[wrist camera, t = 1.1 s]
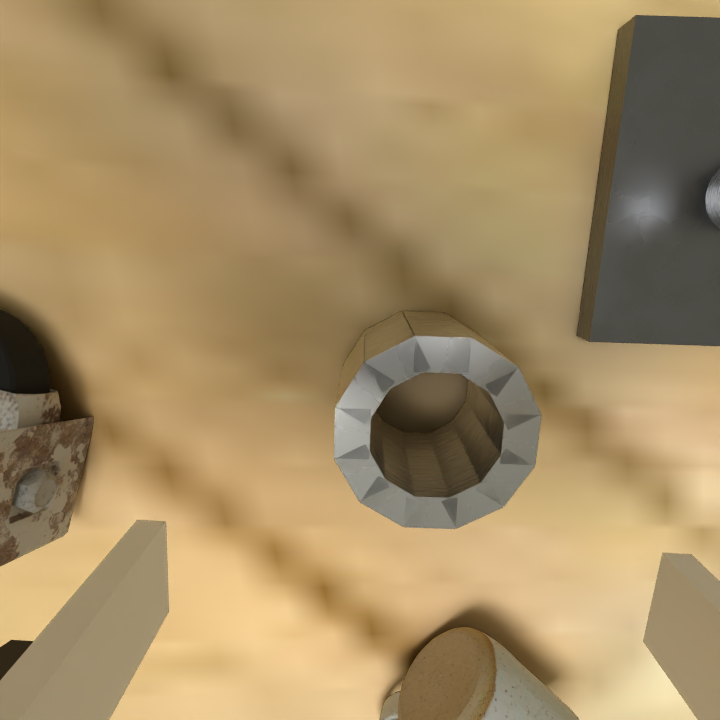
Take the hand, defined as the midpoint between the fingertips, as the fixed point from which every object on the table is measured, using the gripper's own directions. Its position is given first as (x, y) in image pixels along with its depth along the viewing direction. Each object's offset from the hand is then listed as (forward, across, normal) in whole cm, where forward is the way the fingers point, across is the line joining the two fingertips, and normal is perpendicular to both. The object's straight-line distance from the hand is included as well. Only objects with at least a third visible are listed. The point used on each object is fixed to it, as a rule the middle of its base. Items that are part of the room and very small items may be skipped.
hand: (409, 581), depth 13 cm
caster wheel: (+14, -21, -1) cm, 25 cm away
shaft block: (+14, +15, +12) cm, 24 cm away
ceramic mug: (+14, +6, -18) cm, 23 cm away
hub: (+14, +1, +2) cm, 14 cm away
